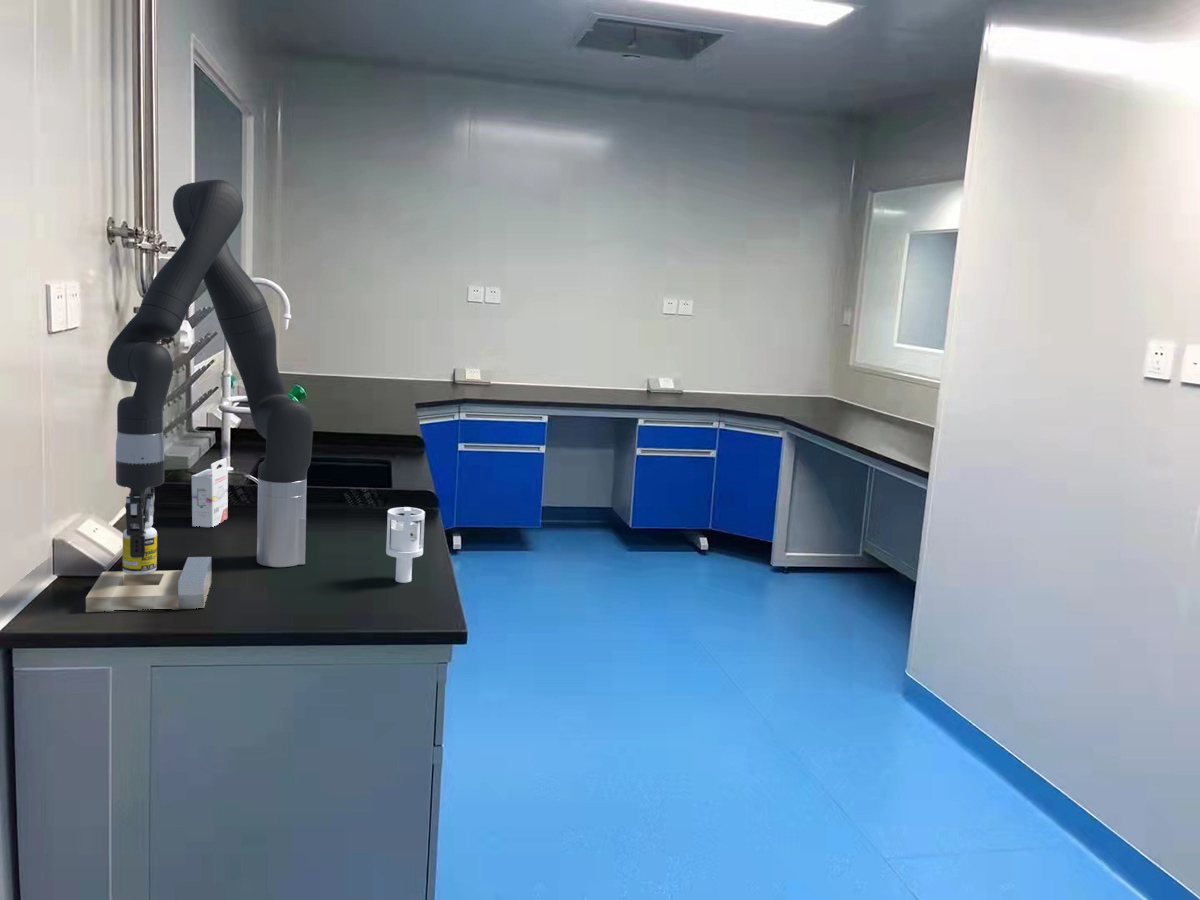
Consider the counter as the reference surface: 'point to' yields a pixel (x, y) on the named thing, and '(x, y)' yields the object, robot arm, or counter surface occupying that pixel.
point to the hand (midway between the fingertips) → (140, 551)
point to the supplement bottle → (150, 558)
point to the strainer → (405, 539)
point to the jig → (153, 589)
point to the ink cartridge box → (210, 495)
